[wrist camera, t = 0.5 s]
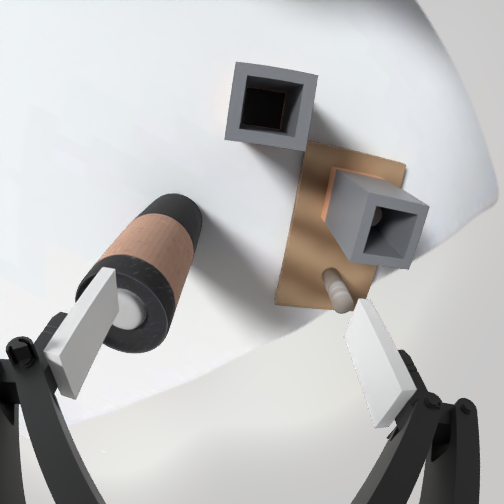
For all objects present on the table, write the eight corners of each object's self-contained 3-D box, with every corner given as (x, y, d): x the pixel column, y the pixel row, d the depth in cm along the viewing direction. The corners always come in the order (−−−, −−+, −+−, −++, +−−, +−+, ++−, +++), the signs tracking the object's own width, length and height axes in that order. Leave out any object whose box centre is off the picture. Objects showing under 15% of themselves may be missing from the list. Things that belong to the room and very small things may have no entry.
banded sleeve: (239, 78, 31) (235, 61, 20) (295, 86, 32) (318, 75, 21) (231, 131, 34) (224, 139, 23) (286, 139, 35) (305, 151, 24)
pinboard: (306, 140, 35) (322, 148, 27) (401, 163, 36) (434, 177, 28) (274, 299, 44) (279, 337, 36) (358, 307, 45) (375, 342, 37)
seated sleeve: (331, 166, 35) (368, 192, 24) (379, 176, 35) (429, 206, 24) (320, 216, 37) (349, 262, 27) (367, 224, 38) (408, 269, 27)
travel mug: (216, 214, 38) (190, 312, 20) (182, 258, 41) (142, 369, 23) (166, 178, 36) (95, 247, 18) (135, 225, 39) (62, 317, 21)
